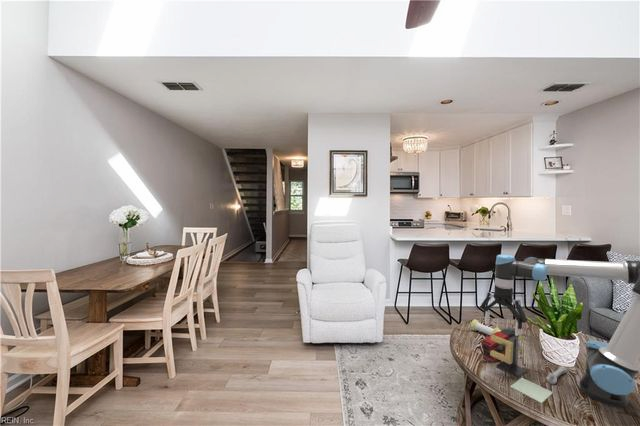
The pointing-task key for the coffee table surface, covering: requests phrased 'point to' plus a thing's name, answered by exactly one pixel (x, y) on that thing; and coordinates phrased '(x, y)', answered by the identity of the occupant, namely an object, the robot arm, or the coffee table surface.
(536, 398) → the mat
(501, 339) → the c link
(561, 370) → the grey bone
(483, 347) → the toy gun
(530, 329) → the coffee table surface
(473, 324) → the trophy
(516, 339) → the stand
